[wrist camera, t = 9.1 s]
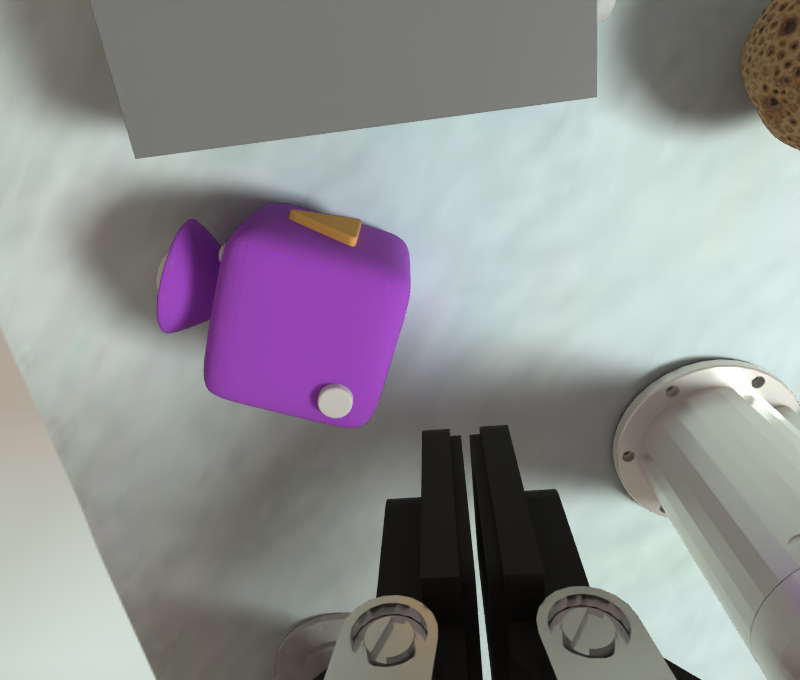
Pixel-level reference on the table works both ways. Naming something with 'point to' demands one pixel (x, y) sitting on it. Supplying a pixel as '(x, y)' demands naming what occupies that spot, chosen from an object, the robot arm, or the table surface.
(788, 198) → the table surface
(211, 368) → the toy camera
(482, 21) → the box
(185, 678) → the table surface
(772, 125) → the natural sponge
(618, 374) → the table surface
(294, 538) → the table surface
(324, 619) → the mate gourd
